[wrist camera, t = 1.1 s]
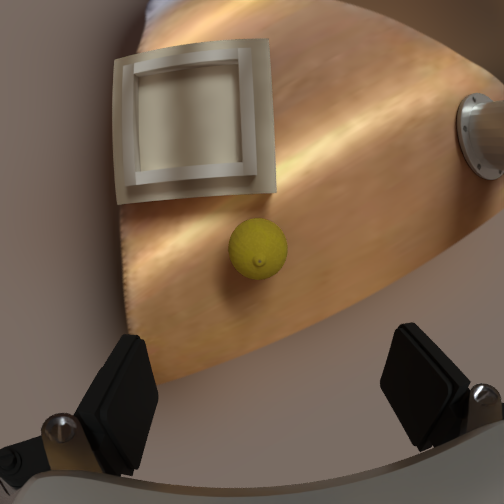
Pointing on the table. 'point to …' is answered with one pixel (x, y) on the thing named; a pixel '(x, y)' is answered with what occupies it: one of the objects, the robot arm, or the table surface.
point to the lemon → (257, 248)
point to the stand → (194, 122)
